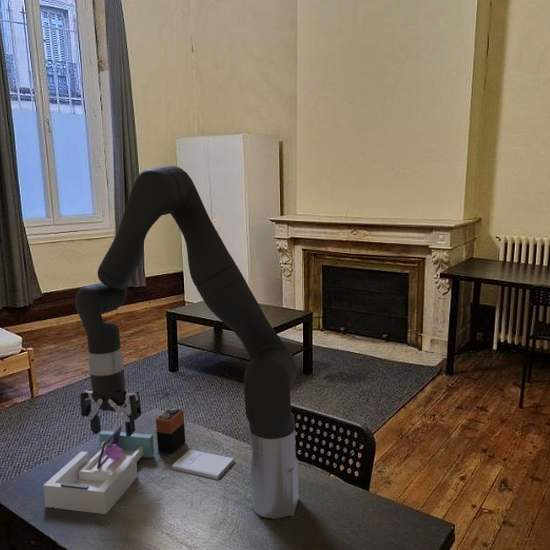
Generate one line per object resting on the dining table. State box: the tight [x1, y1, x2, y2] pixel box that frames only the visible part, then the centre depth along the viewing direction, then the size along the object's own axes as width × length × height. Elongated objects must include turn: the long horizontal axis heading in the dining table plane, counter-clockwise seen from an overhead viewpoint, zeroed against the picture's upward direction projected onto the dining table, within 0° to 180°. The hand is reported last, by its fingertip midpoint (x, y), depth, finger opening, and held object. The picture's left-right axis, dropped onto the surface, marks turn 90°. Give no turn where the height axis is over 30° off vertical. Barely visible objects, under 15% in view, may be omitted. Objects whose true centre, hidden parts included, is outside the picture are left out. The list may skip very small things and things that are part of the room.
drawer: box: [78, 430, 155, 482], centre depth 123 cm, size 14×14×5 cm
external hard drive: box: [171, 449, 235, 480], centre depth 124 cm, size 2×8×12 cm
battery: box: [155, 406, 186, 455], centre depth 132 cm, size 4×7×10 cm, turn 159°
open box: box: [43, 451, 138, 515], centre depth 114 cm, size 14×14×5 cm
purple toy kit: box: [97, 425, 126, 468], centre depth 124 cm, size 7×5×9 cm
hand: (113, 433), depth 122 cm, fingers open, 8 cm apart
